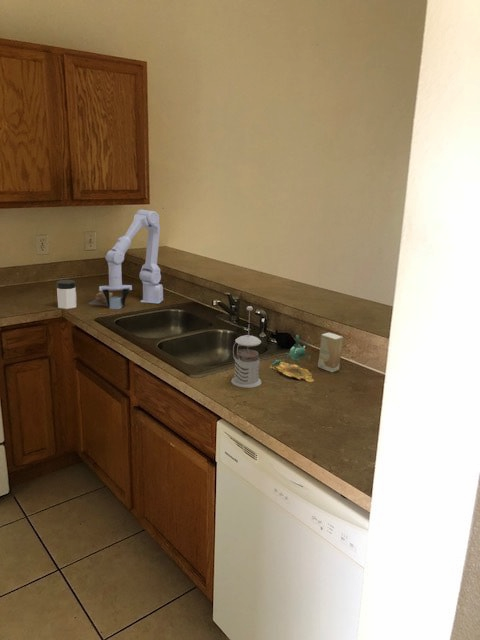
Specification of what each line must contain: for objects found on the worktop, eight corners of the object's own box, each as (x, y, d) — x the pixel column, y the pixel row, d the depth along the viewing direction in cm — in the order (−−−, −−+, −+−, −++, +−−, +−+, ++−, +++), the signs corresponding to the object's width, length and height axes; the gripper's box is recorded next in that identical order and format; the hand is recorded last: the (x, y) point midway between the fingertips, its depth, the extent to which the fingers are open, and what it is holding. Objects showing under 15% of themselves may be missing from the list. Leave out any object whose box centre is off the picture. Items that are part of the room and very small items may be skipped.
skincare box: (317, 367, 182) (320, 334, 178) (325, 364, 185) (328, 331, 181) (332, 373, 178) (335, 338, 174) (340, 370, 181) (343, 336, 177)
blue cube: (122, 307, 245) (122, 297, 244) (119, 310, 241) (118, 299, 240) (113, 306, 246) (113, 296, 244) (109, 309, 242) (109, 298, 240)
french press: (242, 390, 161) (246, 312, 154) (221, 377, 170) (224, 303, 163) (267, 383, 167) (272, 307, 160) (246, 371, 176) (249, 299, 169)
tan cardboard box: (112, 300, 254) (112, 296, 254) (108, 303, 249) (107, 299, 248) (101, 299, 255) (100, 295, 255) (95, 302, 250) (95, 298, 249)
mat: (120, 300, 257) (120, 299, 257) (111, 306, 246) (111, 305, 246) (97, 298, 259) (97, 297, 258) (87, 304, 247) (87, 304, 247)
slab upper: (112, 296, 254) (112, 292, 253) (107, 299, 248) (107, 295, 248) (100, 295, 255) (100, 291, 254) (95, 298, 249) (95, 294, 248)
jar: (76, 309, 239) (75, 283, 236) (57, 309, 237) (55, 283, 234) (77, 304, 248) (75, 279, 244) (58, 304, 246) (57, 279, 242)
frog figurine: (283, 362, 186) (290, 323, 180) (321, 384, 173) (330, 343, 168) (264, 368, 180) (270, 328, 174) (301, 391, 167) (309, 349, 162)
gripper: (130, 274, 245) (130, 302, 249) (98, 275, 240) (99, 303, 244) (132, 277, 239) (132, 306, 242) (99, 278, 234) (100, 307, 238)
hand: (116, 305), depth 243 cm, fingers closed on blue cube, 6 cm apart
